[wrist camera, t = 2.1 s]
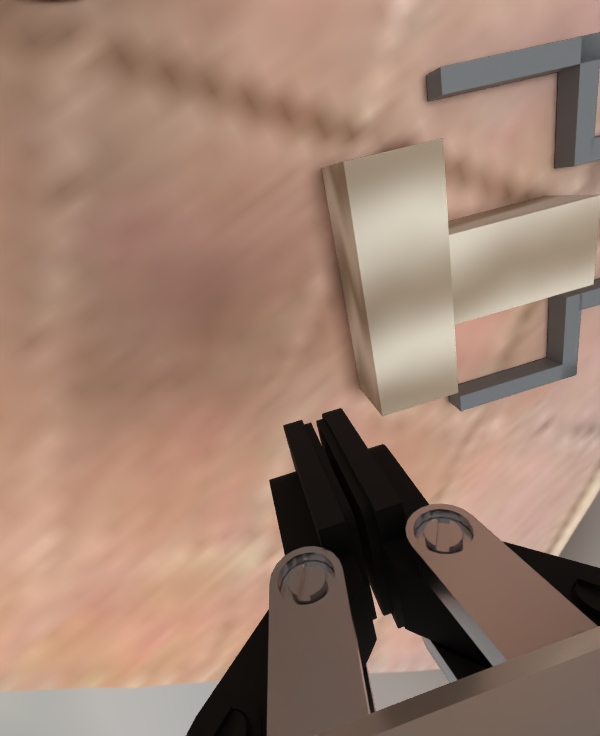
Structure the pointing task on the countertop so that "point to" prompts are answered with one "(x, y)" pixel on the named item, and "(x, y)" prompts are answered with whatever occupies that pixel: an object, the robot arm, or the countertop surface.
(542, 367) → the dock
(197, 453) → the countertop surface
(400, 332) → the t block
